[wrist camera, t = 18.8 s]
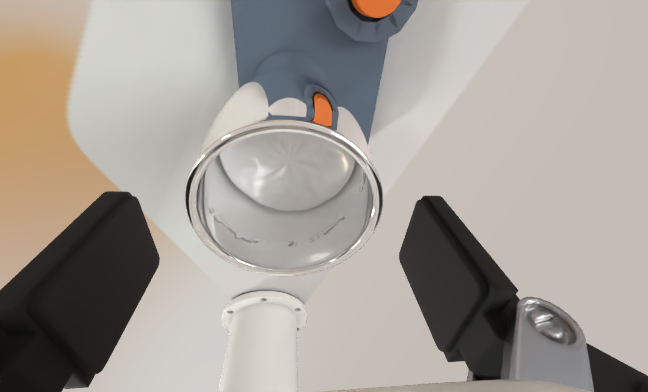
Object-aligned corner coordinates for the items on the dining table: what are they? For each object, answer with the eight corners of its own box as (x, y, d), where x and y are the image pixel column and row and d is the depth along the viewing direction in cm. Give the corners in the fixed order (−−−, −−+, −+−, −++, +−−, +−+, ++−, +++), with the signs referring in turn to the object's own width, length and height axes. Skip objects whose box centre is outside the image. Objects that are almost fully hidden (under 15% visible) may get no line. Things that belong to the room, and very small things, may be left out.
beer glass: (314, 26, 19) (354, 68, 6) (346, 116, 23) (407, 247, 10) (227, 67, 20) (121, 171, 8) (272, 147, 24) (250, 298, 12)
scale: (373, 142, 26) (381, 157, 23) (246, 137, 24) (241, 152, 22) (415, -63, 17) (435, -73, 15) (226, -89, 16) (214, -106, 14)
